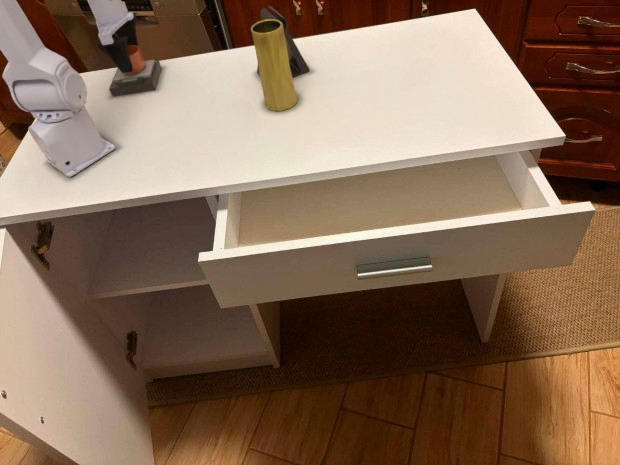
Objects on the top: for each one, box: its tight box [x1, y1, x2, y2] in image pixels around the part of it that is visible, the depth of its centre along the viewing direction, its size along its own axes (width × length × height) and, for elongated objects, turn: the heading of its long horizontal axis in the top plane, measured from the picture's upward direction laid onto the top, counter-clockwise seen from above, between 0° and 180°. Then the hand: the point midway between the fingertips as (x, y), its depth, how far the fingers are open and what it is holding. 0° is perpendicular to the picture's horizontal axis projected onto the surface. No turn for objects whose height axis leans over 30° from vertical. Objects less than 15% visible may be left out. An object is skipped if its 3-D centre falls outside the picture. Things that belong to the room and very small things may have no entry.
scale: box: [108, 59, 163, 97], centre depth 99 cm, size 9×9×3 cm
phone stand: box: [256, 5, 310, 79], centre depth 91 cm, size 9×6×12 cm, turn 115°
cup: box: [125, 45, 146, 75], centre depth 98 cm, size 5×5×4 cm
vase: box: [250, 19, 299, 112], centre depth 83 cm, size 6×6×14 cm
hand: (130, 62), depth 98 cm, fingers open, 7 cm apart
